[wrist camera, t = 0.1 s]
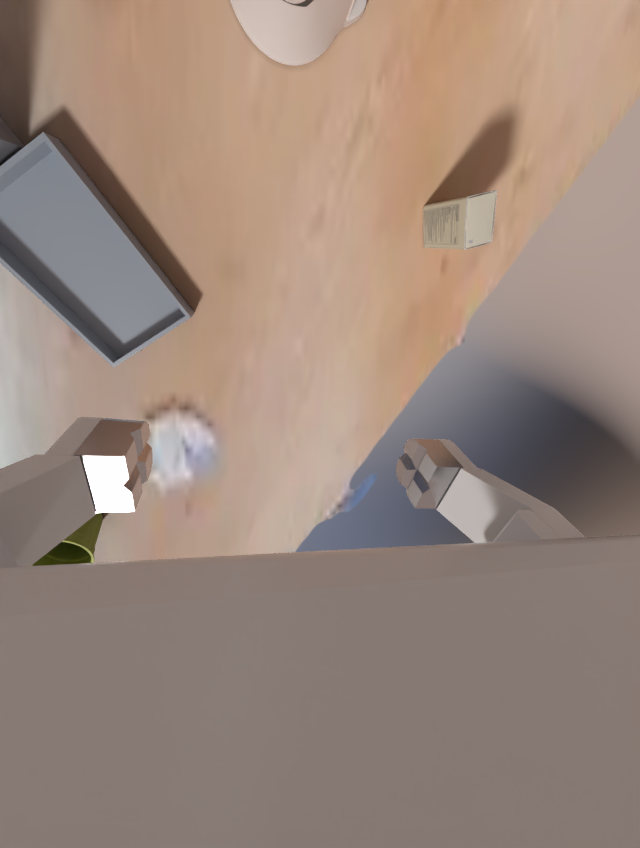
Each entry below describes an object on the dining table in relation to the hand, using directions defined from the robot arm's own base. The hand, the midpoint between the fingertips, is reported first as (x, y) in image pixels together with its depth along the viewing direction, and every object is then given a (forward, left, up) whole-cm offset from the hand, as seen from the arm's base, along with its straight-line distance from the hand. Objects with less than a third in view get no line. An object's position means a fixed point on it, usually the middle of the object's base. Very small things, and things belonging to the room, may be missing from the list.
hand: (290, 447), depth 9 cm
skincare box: (-13, +28, -48) cm, 57 cm away
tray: (+4, -24, -48) cm, 54 cm away
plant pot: (+59, -35, -48) cm, 84 cm away
